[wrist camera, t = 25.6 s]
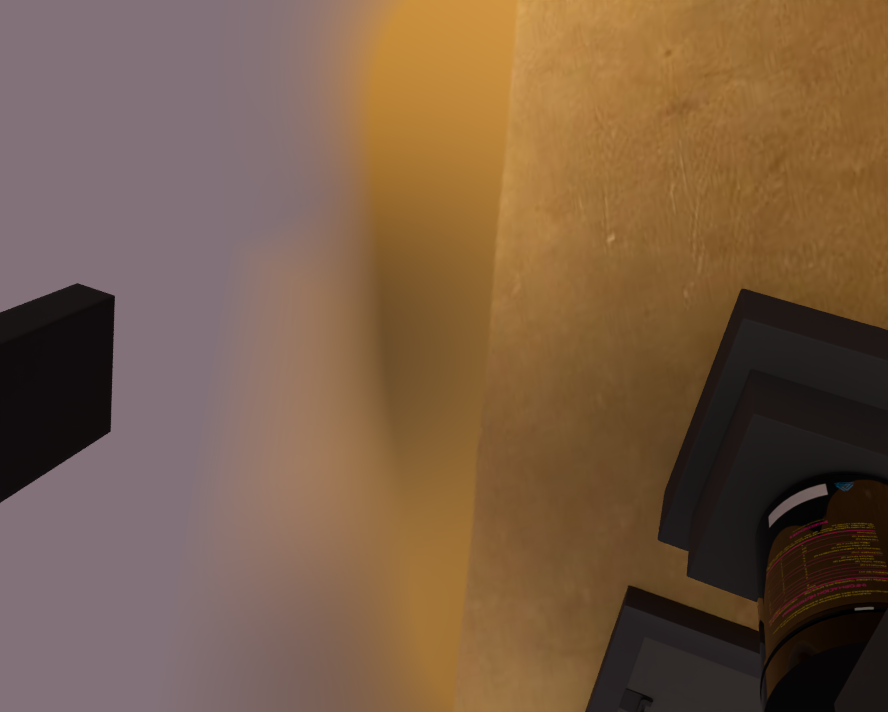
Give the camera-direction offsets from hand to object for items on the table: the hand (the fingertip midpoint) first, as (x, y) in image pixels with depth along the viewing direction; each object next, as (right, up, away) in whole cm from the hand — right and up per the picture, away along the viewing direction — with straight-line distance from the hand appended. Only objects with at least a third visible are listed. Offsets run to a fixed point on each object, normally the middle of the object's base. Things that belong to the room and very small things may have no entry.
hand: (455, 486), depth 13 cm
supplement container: (+16, -5, +19) cm, 25 cm away
